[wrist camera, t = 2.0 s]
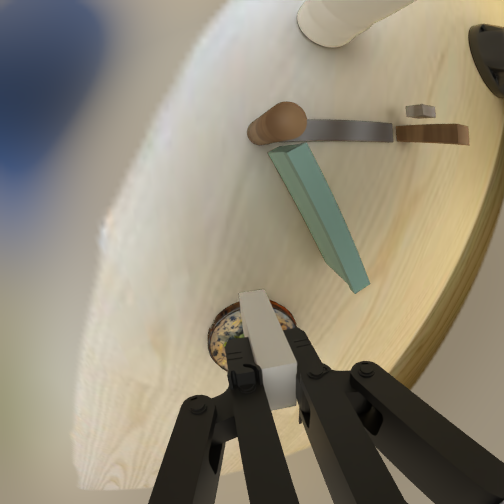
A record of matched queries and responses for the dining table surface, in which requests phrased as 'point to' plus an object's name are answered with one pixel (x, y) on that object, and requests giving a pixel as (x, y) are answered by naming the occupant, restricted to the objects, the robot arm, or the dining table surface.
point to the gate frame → (350, 128)
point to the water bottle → (343, 18)
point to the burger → (237, 329)
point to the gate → (320, 212)
